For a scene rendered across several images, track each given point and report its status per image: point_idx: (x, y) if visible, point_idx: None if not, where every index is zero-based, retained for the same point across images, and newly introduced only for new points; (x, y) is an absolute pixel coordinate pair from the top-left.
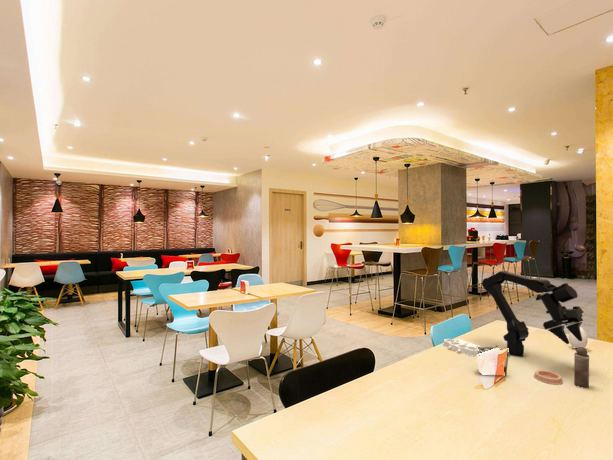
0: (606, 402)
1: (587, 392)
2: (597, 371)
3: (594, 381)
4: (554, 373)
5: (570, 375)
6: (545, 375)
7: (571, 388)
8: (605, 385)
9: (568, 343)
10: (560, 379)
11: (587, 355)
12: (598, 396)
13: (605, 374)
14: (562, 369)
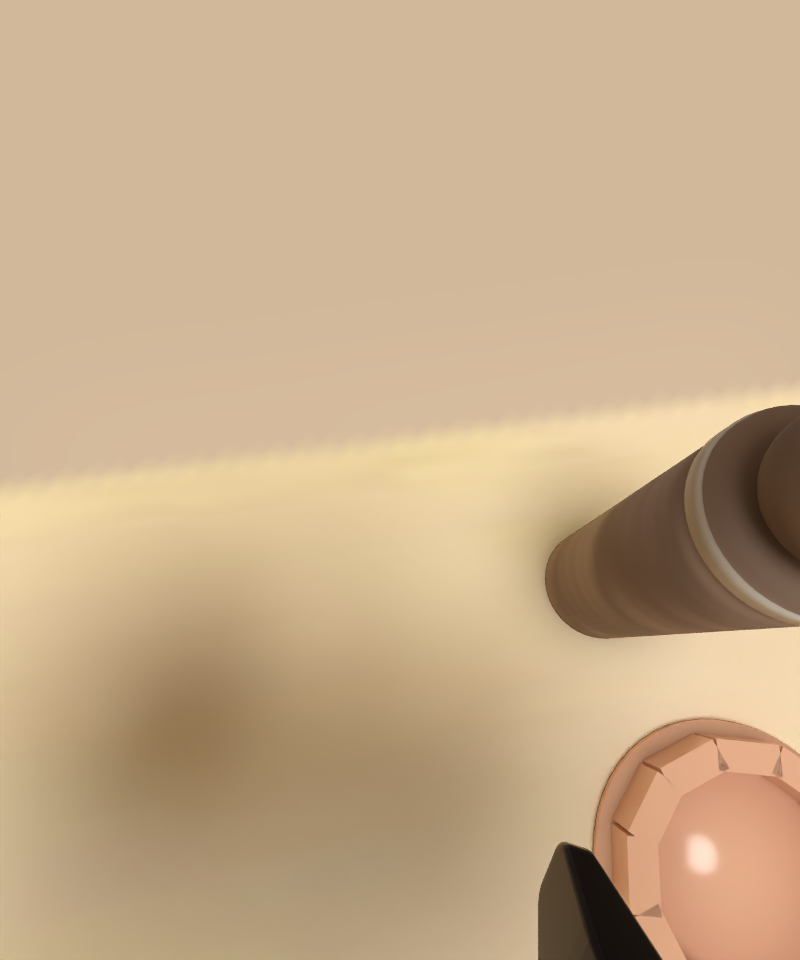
0: (779, 396)
1: None
2: (74, 550)
3: (391, 524)
4: (652, 841)
5: (405, 716)
6: (682, 922)
7: (752, 630)
8: (418, 449)
9: (583, 862)
10: (753, 742)
11: (771, 430)
12: None
13: (116, 488)
14: (272, 829)
